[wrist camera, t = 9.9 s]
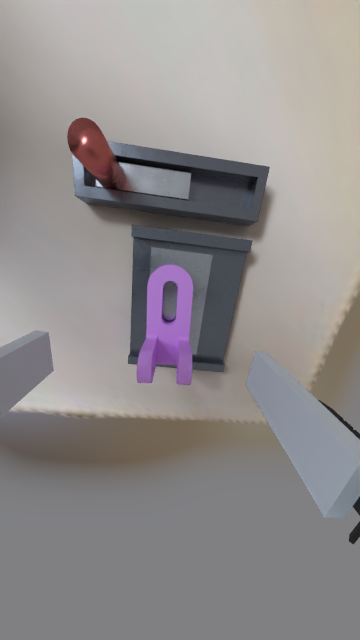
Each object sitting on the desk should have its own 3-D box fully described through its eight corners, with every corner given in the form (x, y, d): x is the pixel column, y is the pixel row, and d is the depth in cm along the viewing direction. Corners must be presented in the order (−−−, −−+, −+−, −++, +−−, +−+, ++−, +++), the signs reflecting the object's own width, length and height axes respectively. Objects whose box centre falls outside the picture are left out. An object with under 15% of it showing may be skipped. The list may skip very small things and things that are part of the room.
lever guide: (86, 203, 20) (74, 195, 18) (84, 151, 19) (71, 135, 16) (248, 226, 21) (257, 221, 19) (259, 178, 20) (269, 166, 18)
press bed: (131, 356, 27) (128, 363, 24) (136, 228, 21) (131, 224, 19) (219, 364, 27) (223, 372, 25) (245, 243, 22) (252, 240, 20)
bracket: (186, 360, 24) (190, 392, 18) (147, 358, 24) (136, 390, 17) (193, 267, 21) (202, 261, 15) (149, 263, 21) (137, 257, 14)
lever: (100, 192, 19) (67, 160, 13) (99, 161, 18) (64, 114, 13) (187, 204, 20) (192, 179, 14) (190, 175, 19) (196, 136, 13)
